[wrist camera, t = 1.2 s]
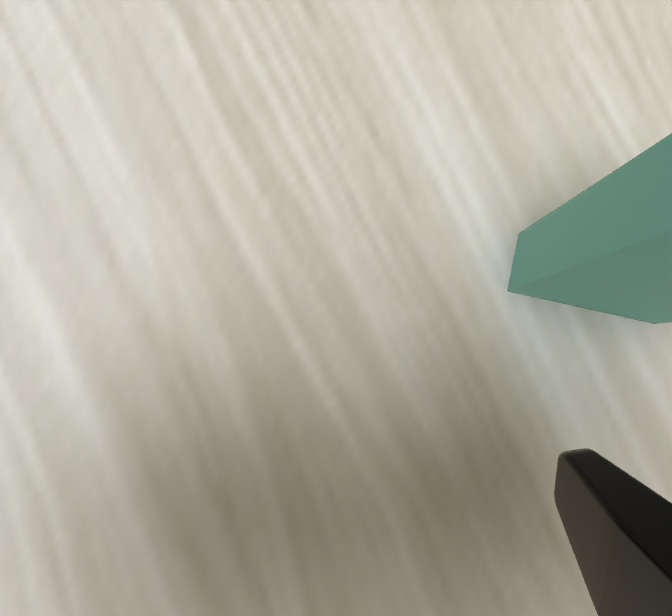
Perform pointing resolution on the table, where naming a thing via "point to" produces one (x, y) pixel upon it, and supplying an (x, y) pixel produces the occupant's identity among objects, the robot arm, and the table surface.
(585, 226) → the teal domino
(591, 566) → the robot arm
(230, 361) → the table surface
